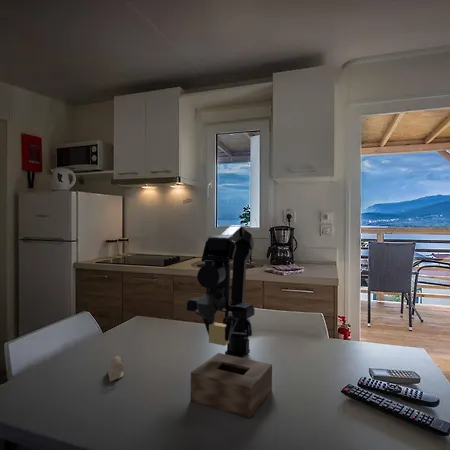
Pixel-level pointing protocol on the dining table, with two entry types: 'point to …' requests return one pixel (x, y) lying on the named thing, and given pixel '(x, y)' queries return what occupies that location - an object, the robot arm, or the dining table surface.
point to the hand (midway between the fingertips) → (219, 338)
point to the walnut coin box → (232, 384)
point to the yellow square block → (217, 333)
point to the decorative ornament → (115, 368)
